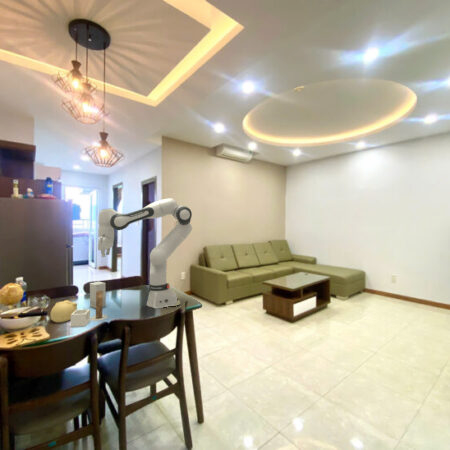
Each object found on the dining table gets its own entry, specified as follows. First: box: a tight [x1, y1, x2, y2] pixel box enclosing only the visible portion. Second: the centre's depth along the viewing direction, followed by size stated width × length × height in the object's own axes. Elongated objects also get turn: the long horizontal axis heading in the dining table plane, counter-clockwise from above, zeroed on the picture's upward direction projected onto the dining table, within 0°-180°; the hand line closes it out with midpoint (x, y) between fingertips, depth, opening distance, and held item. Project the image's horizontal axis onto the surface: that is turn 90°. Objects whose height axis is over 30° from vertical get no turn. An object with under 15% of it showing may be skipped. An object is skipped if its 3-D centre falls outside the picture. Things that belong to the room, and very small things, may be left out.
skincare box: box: [89, 281, 107, 309], centre depth 158 cm, size 8×7×16 cm
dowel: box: [95, 291, 104, 319], centre depth 138 cm, size 3×3×15 cm
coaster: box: [90, 314, 108, 322], centre depth 139 cm, size 9×9×1 cm
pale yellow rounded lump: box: [50, 299, 78, 324], centre depth 135 cm, size 11×12×11 cm
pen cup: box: [70, 309, 91, 328], centre depth 130 cm, size 7×7×7 cm
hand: (105, 255), depth 153 cm, fingers open, 8 cm apart
